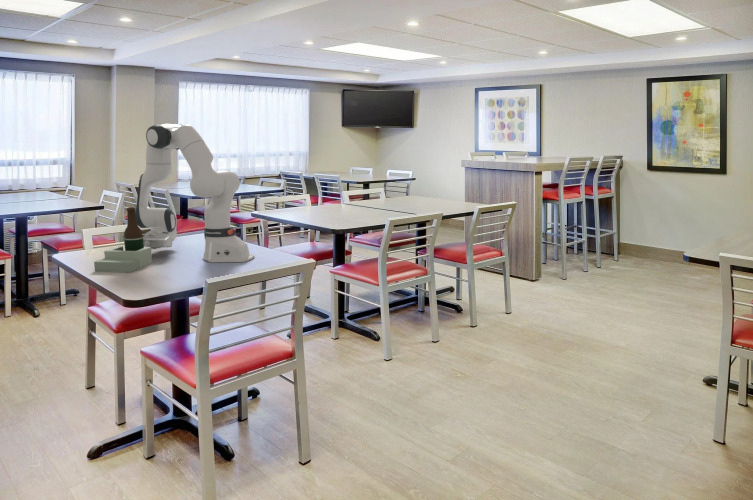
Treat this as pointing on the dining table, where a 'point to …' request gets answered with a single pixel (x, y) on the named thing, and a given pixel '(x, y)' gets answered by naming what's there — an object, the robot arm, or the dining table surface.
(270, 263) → the dining table surface
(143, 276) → the dining table surface
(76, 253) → the dining table surface
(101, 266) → the block
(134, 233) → the beer bottle
